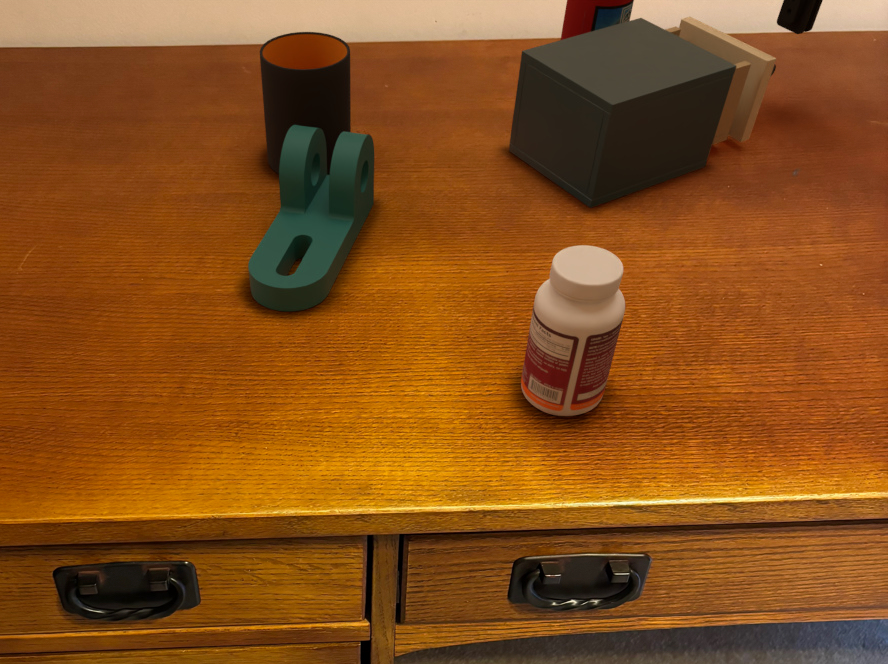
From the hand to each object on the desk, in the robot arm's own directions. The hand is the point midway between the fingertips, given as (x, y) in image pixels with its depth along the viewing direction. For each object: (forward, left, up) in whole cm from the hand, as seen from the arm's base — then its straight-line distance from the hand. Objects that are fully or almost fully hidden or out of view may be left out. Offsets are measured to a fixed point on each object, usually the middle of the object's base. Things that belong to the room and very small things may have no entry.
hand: (793, 27), depth 92 cm
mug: (+48, -17, -8) cm, 51 cm away
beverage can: (+14, -14, -8) cm, 21 cm away
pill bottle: (+49, +25, -8) cm, 56 cm away
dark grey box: (+23, 0, -8) cm, 24 cm away
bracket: (+56, -1, -8) cm, 56 cm away
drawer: (+14, 0, -7) cm, 15 cm away
